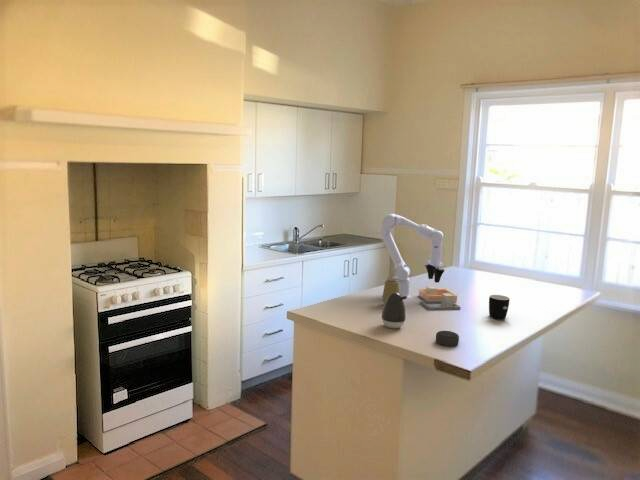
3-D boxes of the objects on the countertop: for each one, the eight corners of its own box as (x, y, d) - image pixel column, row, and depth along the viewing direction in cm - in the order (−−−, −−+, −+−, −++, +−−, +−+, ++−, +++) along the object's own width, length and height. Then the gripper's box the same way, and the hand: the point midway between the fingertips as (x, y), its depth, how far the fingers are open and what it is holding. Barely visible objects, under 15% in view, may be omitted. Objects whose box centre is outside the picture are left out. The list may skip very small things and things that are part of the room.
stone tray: (429, 311, 256) (429, 307, 256) (419, 304, 267) (420, 300, 267) (460, 310, 260) (460, 306, 259) (449, 304, 271) (450, 300, 270)
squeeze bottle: (400, 304, 265) (403, 269, 262) (395, 308, 258) (398, 272, 255) (384, 302, 268) (387, 267, 265) (379, 305, 261) (382, 269, 258)
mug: (502, 322, 244) (504, 300, 243) (483, 317, 250) (486, 296, 249) (513, 317, 253) (515, 296, 252) (495, 313, 259) (497, 292, 258)
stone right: (444, 307, 262) (445, 295, 261) (440, 305, 266) (441, 293, 265) (453, 307, 262) (454, 295, 262) (449, 305, 267) (450, 293, 266)
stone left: (428, 299, 275) (429, 288, 274) (425, 297, 279) (426, 286, 278) (436, 299, 275) (437, 288, 275) (433, 297, 280) (434, 286, 279)
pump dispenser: (399, 332, 223) (402, 296, 221) (376, 327, 228) (379, 292, 226) (409, 326, 232) (411, 292, 229) (387, 321, 237) (389, 288, 235)
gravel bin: (428, 303, 270) (429, 295, 269) (418, 296, 283) (419, 289, 282) (456, 303, 273) (457, 295, 273) (445, 296, 286) (445, 289, 285)
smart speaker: (432, 339, 217) (433, 329, 217) (454, 339, 218) (455, 330, 217) (438, 347, 208) (439, 337, 208) (461, 347, 209) (462, 337, 208)
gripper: (449, 257, 267) (447, 283, 269) (437, 251, 281) (434, 277, 283) (436, 257, 265) (434, 284, 267) (424, 251, 279) (422, 277, 281)
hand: (433, 280), depth 275 cm, fingers open, 7 cm apart
